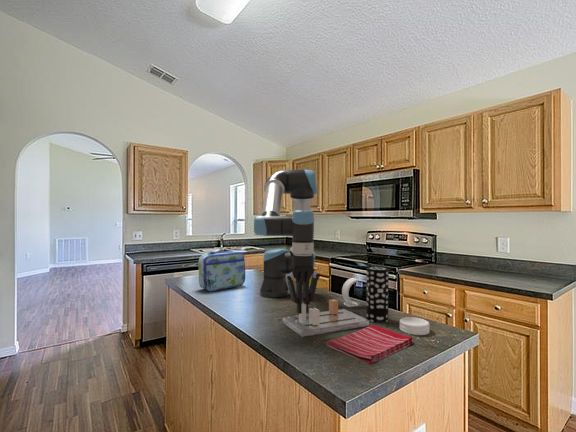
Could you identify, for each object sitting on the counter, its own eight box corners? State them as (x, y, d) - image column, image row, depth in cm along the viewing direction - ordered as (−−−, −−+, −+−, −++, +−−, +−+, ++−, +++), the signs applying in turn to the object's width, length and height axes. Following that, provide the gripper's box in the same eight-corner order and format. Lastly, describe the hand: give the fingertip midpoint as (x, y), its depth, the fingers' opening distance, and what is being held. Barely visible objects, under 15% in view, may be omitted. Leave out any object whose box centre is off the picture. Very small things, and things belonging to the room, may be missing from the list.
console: (282, 322, 120) (282, 316, 120) (344, 313, 132) (344, 308, 132) (301, 336, 106) (301, 330, 106) (369, 325, 117) (369, 320, 117)
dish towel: (415, 345, 101) (415, 336, 101) (370, 366, 86) (370, 357, 86) (370, 330, 114) (370, 322, 114) (324, 347, 99) (324, 338, 99)
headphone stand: (358, 306, 144) (358, 279, 144) (346, 307, 142) (347, 280, 142) (353, 303, 148) (353, 277, 148) (341, 304, 146) (341, 278, 146)
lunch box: (204, 293, 166) (204, 253, 166) (196, 289, 174) (196, 251, 174) (247, 287, 182) (247, 250, 182) (237, 283, 190) (237, 249, 191)
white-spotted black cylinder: (373, 314, 131) (373, 266, 131) (392, 319, 125) (392, 268, 125) (362, 319, 125) (362, 268, 125) (381, 324, 119) (381, 271, 119)
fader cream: (309, 322, 113) (309, 308, 113) (315, 321, 114) (315, 307, 114) (313, 325, 110) (313, 310, 110) (319, 324, 111) (319, 309, 111)
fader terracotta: (328, 312, 126) (328, 299, 126) (334, 311, 127) (334, 298, 127) (332, 314, 123) (333, 301, 123) (338, 313, 124) (338, 300, 124)
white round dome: (393, 329, 114) (393, 319, 114) (409, 324, 120) (409, 315, 120) (419, 338, 106) (419, 327, 106) (435, 332, 112) (435, 322, 112)
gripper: (290, 256, 105) (289, 328, 104) (324, 254, 110) (324, 323, 110) (281, 254, 111) (280, 321, 111) (314, 252, 117) (313, 317, 116)
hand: (302, 322), depth 110 cm, fingers closed
